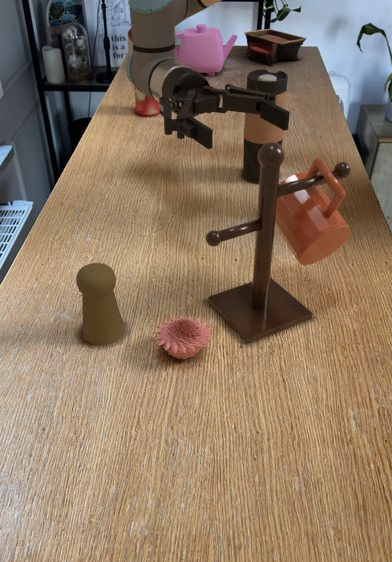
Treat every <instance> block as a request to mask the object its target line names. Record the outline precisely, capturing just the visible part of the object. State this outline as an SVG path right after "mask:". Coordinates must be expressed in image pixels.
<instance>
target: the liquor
mask: <svg viewBox="0 0 392 562" xmlns="http://www.w3.org/2000/svg"><path fill="white" fill-rule="evenodd" d="M127 39H128V47H129V55H130V54H131V52H132V51H133V41H132V29H131V28H130V29H129V30H128V31H127ZM133 89H134V98H135V107H134V112H135V113H137V115H139V116H141V117H155V116H158V115H160V107H159V102H157V101H156V100H154V99H153V98H151V97H150V96H148V95H145V94H143V93H141V92H140V91H139V90H138V89H137V88H136V87H135V86H134V85H133Z"/></svg>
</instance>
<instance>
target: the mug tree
mask: <svg viewBox="0 0 392 562" xmlns="http://www.w3.org/2000/svg"><path fill="white" fill-rule="evenodd" d="M258 161H259V163H260V165H261V166H260V181H259V184H258V197H257V213H256V219H254V220H250V221H248V222H243V223H240V224H238V225H237V224H236V225H234V226H231V227H227V228H224V229H221V230H218V231H217V230H214V229H213V230H209V231H208V232H207V233H206V235H205V242H206V244H207V245H208V246H209V247H217V246H219V245H220V244H221V243H223V242H226V241H229V240H233V239H236V238H238V237H242V236H245V235H249V234H251V233H255V241H254V254H253V255H254V257H253V272H252V281H250V282H247V283H244V284H241V285H238V286H235V287H233V288H229V289H227V290H224V291H220V292H218V293H215V294H212V295H209V296H208V297H207V303H208V304H209V305H210V306H211V308H213V310H214V311H216V312H217V313H218V315H219V316H220V317H222V318H223V320H224V321H225V322H226V323H227V324H228V325H229V326H230V327H231V328H232V329H233V330H234V331H235V332H236V333H237V334H238V335H239V336H240V337H241V338H242V339H243V340H244V341H245V342H246V343H247V344H252V343H254V342H256V341H259V340H262V339H264V338H267V337H270V336H271V335H274V334H277V333H280V332H282V331H284V330H287V329H290V328H292V327H295V326H297V325H300V324H302V323H305V322H308V321H310V320H312V319H313V314H314V313H313V312H312V311H311V310H309V309H308V308H307V307H306V306H305V305H304V304H302V303H301V302H300V300H298V299H297V298H295V296H293V295H292V294H291V293H290V292H289V291H287V290H286V289H285V288H284V287H282V286H281V284H279V283H278V282H277V281H275V280H274V279H273V278H272V277H271V274H272V273H271V272H272V262H273V252H274V251H273V250H274V238H275V228H276V227H275V218H276V207H277V197H281V196H284V195H287V194H291V193H294V192H298V191H301V190H305V189H308V188H312V187H315V186H318V185H320V186H322V185H325V184H327V182H326V181H325V180H324V178H323V177H322V175H321V174H320V173H318V174H317V175H314V176H310V177H307V178H303V179H300V180H296V181H292V182H289V183H285V184H282V185H279V183H280V173H281V166H282V164H283V163H284V161H285V151H284V148H283V146H282V147H281V146H280V145H279V144H278V143H275V142H268V143H266V144H264V145H263V146H262V147H261V148H260V150H259V152H258ZM330 171H331V173H332V174H333V175H334V177H335V178H336V180H337V181H339V180H344V179H347V178H348V177H349V176H350V174H351V172H352V168H351V165H350V164H349V163H348V162H346V161H339V162H338V163H336V164H335V166H334V168H333V169H332V170H330Z"/></svg>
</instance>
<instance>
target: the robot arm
mask: <svg viewBox="0 0 392 562" xmlns="http://www.w3.org/2000/svg"><path fill="white" fill-rule="evenodd" d="M219 2H222V0H128V6H129V16H130V27H131V28H130V29H132V41H133V51H132V52H131V54H130V53H129V55H128V58H127V60H126V63H125V74H126V77H127V79H128V81H129V82H130V83H131V85H132V86H133V87H134V86H135V87H136V88H137V89H138V90H139V91H140V92H141V93H143V94H145V95H148V96H150V97H151V98H153V99H154V100H156V101H157V102H159V107H160V112H159V115H160V116H162V117H163V132H164V135H165V136H171V135H173V132H176V139H178V140H184V139H185V138H186V137H187V139H192V140H194V141H195V142H196V143H198V144H200V145H201V146H202V147H204V148H205V149H207V150H211V149H213V136H214V135H213V134H214V133H213V131H214V130H213V128H211V127H209V126H208V125H206V124H204V123H203V122H201V121H200V120H198V119H196V117H197V116H199V115H203V114H211V113H216V114H226V113H227V112H235V113H243V114H245V113H250V114H259V115H260V118H262V119H264V120H266V121H267V122H269V123H271V124H273V125H275V126H277V127H278V128H280V129H282V130H284V131H283V132H285V131H288V130H289V124H290V116H291V115H290V114H291V112H290V111H289V110H287V109H286V108H285V109H283V108H281V107H279V106H277V105H275V103H276V95H274V94H270V93H265V92H260V91H255V90H250V89H246V88H244V87H239V86H236V85H233V84H231V83H226V84H224V89H223V88H215V87H214V86H211V85H210V83H209V81H208V79H207V78H206V77H205V75H203V73H199V72H197V71H195V70H193V69H191V68H190V67H188V66H185V65H183V64H181V63H179V61H177V60H176V57H175V47H176V38H175V33H176V30H175V29H176V27H177V26H178V25H179V24H181V23H182V22H184V21H186V20H187V19H188V18H191V17H193V16H195V15H196V14H198V13H200V12H203V11H204V10H206V9H207V8H209V7H211V6H213V5H215V4H216V3H219ZM221 100H222V103H221ZM220 104H222V105H221V106H220ZM173 114H175V115H176V118H173Z"/></svg>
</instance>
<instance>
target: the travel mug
mask: <svg viewBox="0 0 392 562" xmlns="http://www.w3.org/2000/svg"><path fill="white" fill-rule="evenodd" d="M288 79H289V76H288V73H287V72H285V71H282V70H278V71H277V72H271V71H268V70H267V69H265V68H261V69H253V70H251V71H249V72H248V73H247V75H246V88H245V89H250V90H255V91H260V92H265V93H270V94H274V95H276V103H275V105H277V106H279V107H281V108H283V109H285V110H286V106H287V105H286V104H287V94H288V93H287V92H288V81H289V80H288ZM243 125H244V126H243V154H242V155H243V157H242V159H243V163H242V165H243V166H242V174H243V175H242V176H243V178H244V180H246V181H248V182H250V183H253V184H258V185H259V181H260V166H261V165H260V163H259V161H258V152H259V150H260V148H261V147H262V146H263V145H264V144H266V143H268V142H275V143H278V144H279V145H280V146H281V147H282V148H283V142H284V141H283V140H284V132H285V131H284V130H282V129H280V128H278V127H277V126H275V125H273V124H271V123H269V122H267V121H266V120H264V119H262V118H260V115H259V114H250V113H244V124H243Z"/></svg>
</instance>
